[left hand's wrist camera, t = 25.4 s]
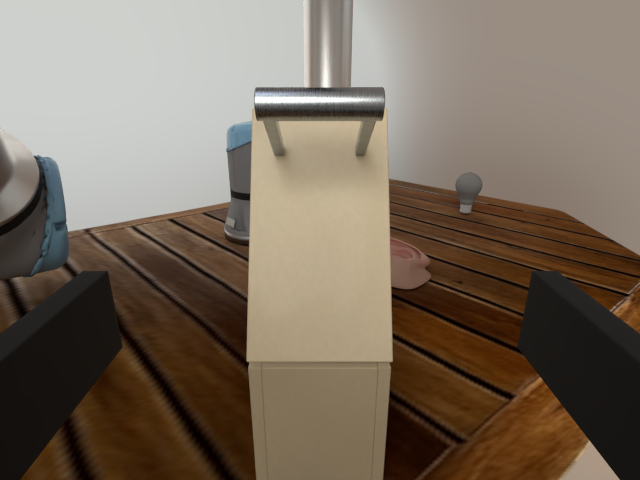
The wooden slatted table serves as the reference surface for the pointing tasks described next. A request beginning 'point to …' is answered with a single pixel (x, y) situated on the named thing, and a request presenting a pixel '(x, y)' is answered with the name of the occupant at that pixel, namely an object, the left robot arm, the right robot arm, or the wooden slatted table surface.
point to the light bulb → (468, 190)
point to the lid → (319, 226)
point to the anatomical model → (407, 265)
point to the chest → (319, 419)
